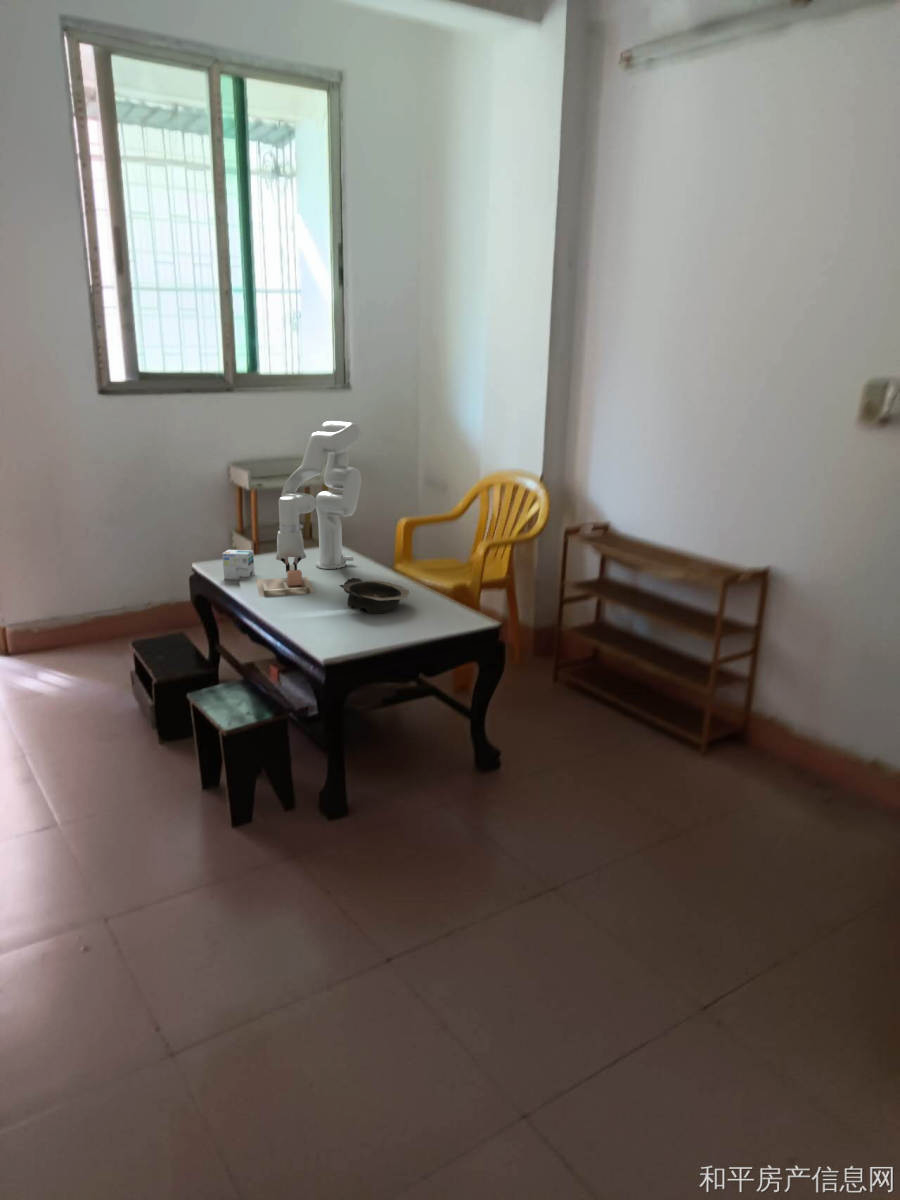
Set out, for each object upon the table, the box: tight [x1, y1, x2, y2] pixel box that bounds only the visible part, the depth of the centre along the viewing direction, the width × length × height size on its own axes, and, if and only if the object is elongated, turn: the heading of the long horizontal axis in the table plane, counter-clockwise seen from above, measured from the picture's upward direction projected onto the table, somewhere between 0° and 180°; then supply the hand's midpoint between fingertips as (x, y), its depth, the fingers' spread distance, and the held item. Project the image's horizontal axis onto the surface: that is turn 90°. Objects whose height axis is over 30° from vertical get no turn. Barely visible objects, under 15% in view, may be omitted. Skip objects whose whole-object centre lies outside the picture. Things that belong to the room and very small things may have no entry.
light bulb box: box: [222, 549, 256, 580], centre depth 328 cm, size 11×7×11 cm, turn 84°
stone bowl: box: [338, 577, 411, 615], centre depth 296 cm, size 25×25×9 cm
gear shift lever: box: [286, 563, 303, 586], centre depth 319 cm, size 5×13×6 cm, turn 16°
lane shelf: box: [255, 576, 315, 597], centre depth 314 cm, size 20×22×4 cm
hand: (291, 573), depth 326 cm, fingers closed on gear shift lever, 1 cm apart
